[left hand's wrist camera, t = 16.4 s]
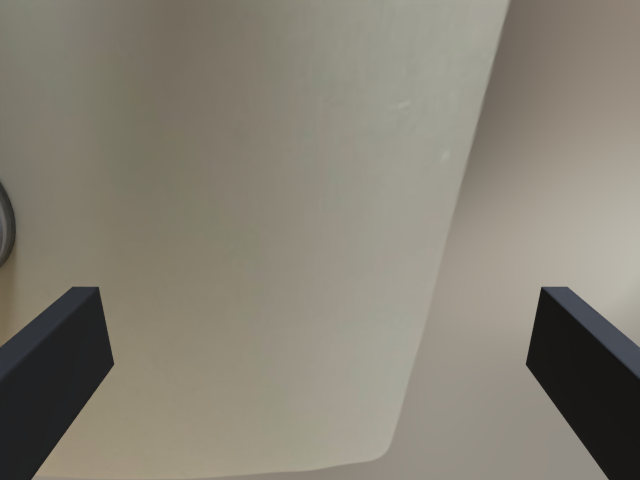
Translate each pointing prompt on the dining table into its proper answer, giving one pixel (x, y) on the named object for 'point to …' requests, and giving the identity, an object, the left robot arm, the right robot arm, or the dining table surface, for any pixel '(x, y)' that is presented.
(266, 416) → the dining table surface
